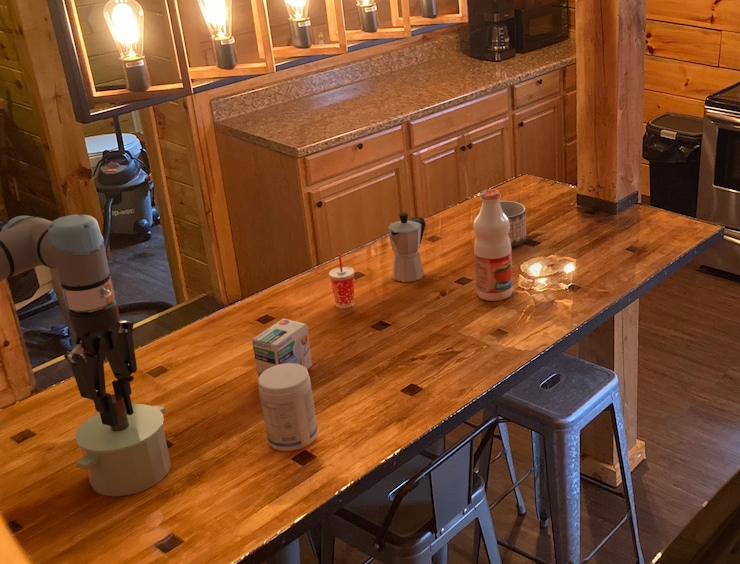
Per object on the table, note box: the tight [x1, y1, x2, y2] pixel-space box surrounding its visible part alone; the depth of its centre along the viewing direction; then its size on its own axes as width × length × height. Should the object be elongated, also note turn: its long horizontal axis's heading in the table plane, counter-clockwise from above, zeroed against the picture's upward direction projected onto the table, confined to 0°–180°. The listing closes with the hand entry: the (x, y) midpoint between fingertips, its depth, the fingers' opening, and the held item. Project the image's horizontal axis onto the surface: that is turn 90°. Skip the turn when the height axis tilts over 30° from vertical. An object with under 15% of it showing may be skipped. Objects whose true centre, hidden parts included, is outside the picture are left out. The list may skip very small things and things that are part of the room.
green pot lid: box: [74, 393, 165, 453], centre depth 172 cm, size 15×15×7 cm
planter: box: [499, 200, 527, 248], centre depth 274 cm, size 13×13×10 cm
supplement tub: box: [257, 363, 319, 452], centre depth 184 cm, size 10×10×15 cm
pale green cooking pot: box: [75, 404, 172, 497], centre depth 175 cm, size 14×19×10 cm
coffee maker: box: [387, 212, 427, 283], centre depth 252 cm, size 15×9×18 cm, turn 155°
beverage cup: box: [328, 253, 356, 309], centre depth 237 cm, size 6×6×14 cm
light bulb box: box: [251, 317, 313, 379], centre depth 207 cm, size 11×7×11 cm, turn 158°
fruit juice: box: [473, 188, 514, 302], centre depth 240 cm, size 9×9×28 cm
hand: (118, 418), depth 172 cm, fingers closed on green pot lid, 3 cm apart
